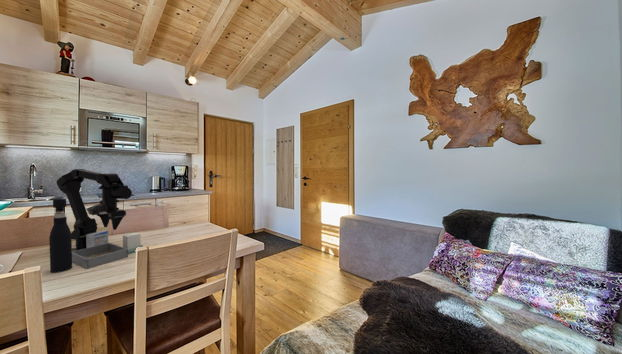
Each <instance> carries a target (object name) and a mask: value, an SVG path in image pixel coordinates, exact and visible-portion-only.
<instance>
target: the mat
mask: <svg viewBox="0 0 622 354" xmlns="http://www.w3.org/2000/svg"><path fill="white" fill-rule="evenodd" d="M143 246H144V245H142V244H140V247H143ZM135 250H136V248H134V249H130V250H128V255H130V254H134V253H136V252H135Z"/></svg>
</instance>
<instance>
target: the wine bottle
mask: <svg viewBox="0 0 622 354" xmlns="http://www.w3.org/2000/svg"><path fill="white" fill-rule="evenodd" d="M65 207H67V198H55V199H54V198H53V199H52V208H54V209H55V212H54V216H53V226H52V227H51V230H50V232H49V239H48V240H49V272H50V273H55V274H56V273H61V272H65V271H68V270H71V269H72V268H73V262H72V251H73V247H72V241H73V239H71V233H72V231H71V229H70V227H69V225H68V222H67V215H66V212H65Z"/></svg>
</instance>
